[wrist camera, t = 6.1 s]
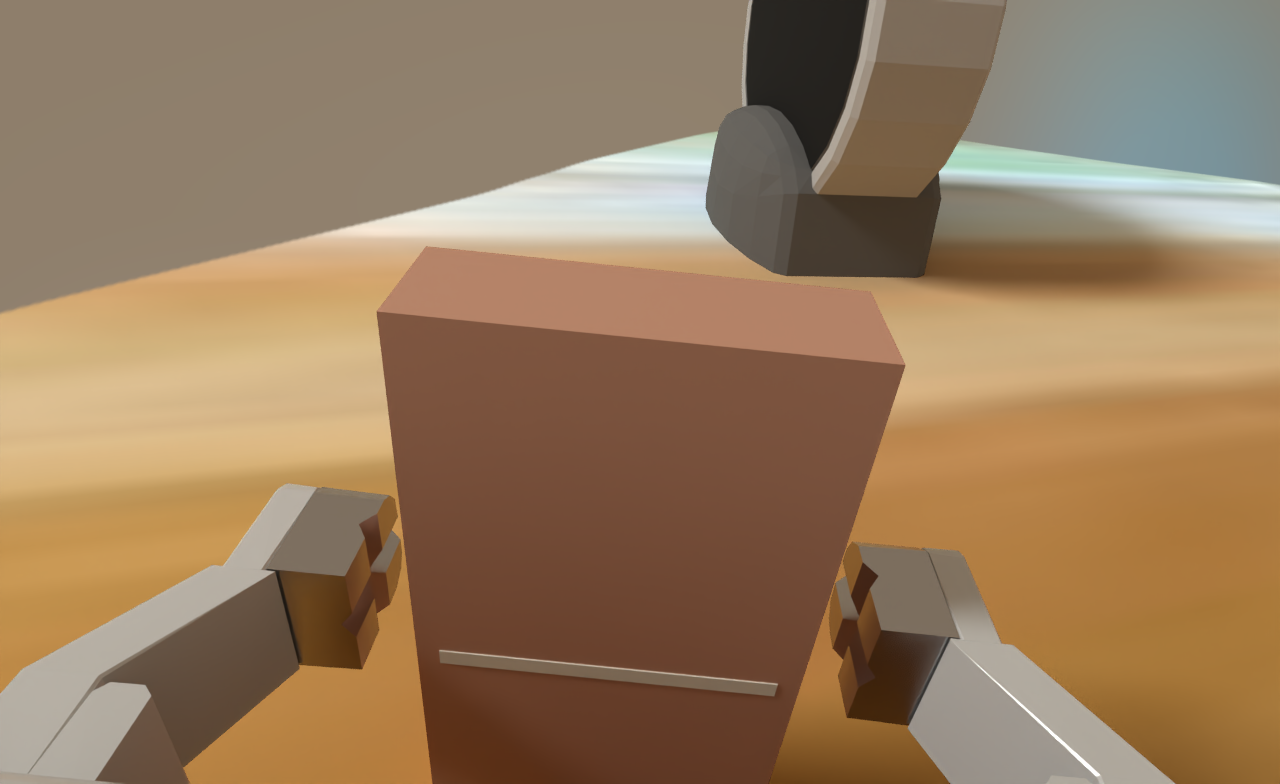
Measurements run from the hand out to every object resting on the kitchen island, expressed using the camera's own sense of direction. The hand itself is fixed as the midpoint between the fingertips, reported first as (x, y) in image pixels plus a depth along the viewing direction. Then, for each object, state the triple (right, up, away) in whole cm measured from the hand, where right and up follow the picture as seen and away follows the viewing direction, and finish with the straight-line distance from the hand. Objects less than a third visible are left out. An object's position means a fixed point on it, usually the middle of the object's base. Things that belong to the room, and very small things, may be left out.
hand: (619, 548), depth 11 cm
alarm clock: (+9, +11, +29) cm, 32 cm away
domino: (-1, -5, +2) cm, 6 cm away
